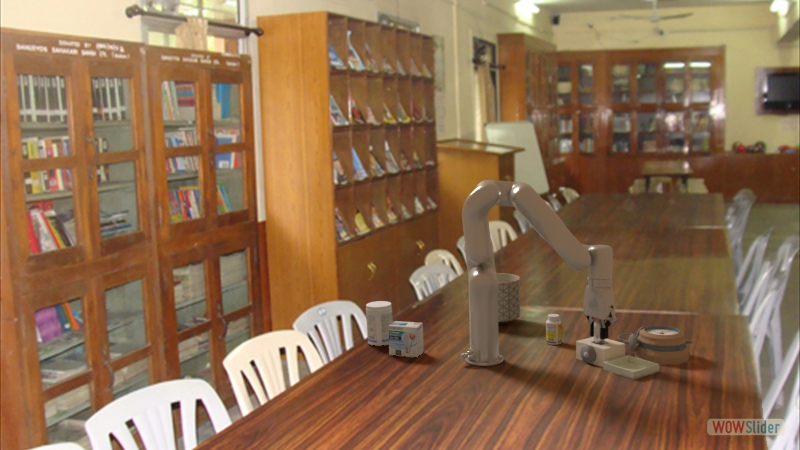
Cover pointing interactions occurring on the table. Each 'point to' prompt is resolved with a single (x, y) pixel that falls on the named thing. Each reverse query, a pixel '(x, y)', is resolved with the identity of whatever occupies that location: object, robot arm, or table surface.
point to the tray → (631, 367)
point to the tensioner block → (599, 351)
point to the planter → (508, 298)
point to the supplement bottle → (553, 330)
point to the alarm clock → (659, 345)
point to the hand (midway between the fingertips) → (599, 336)
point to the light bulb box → (406, 339)
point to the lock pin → (597, 332)
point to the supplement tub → (378, 322)
